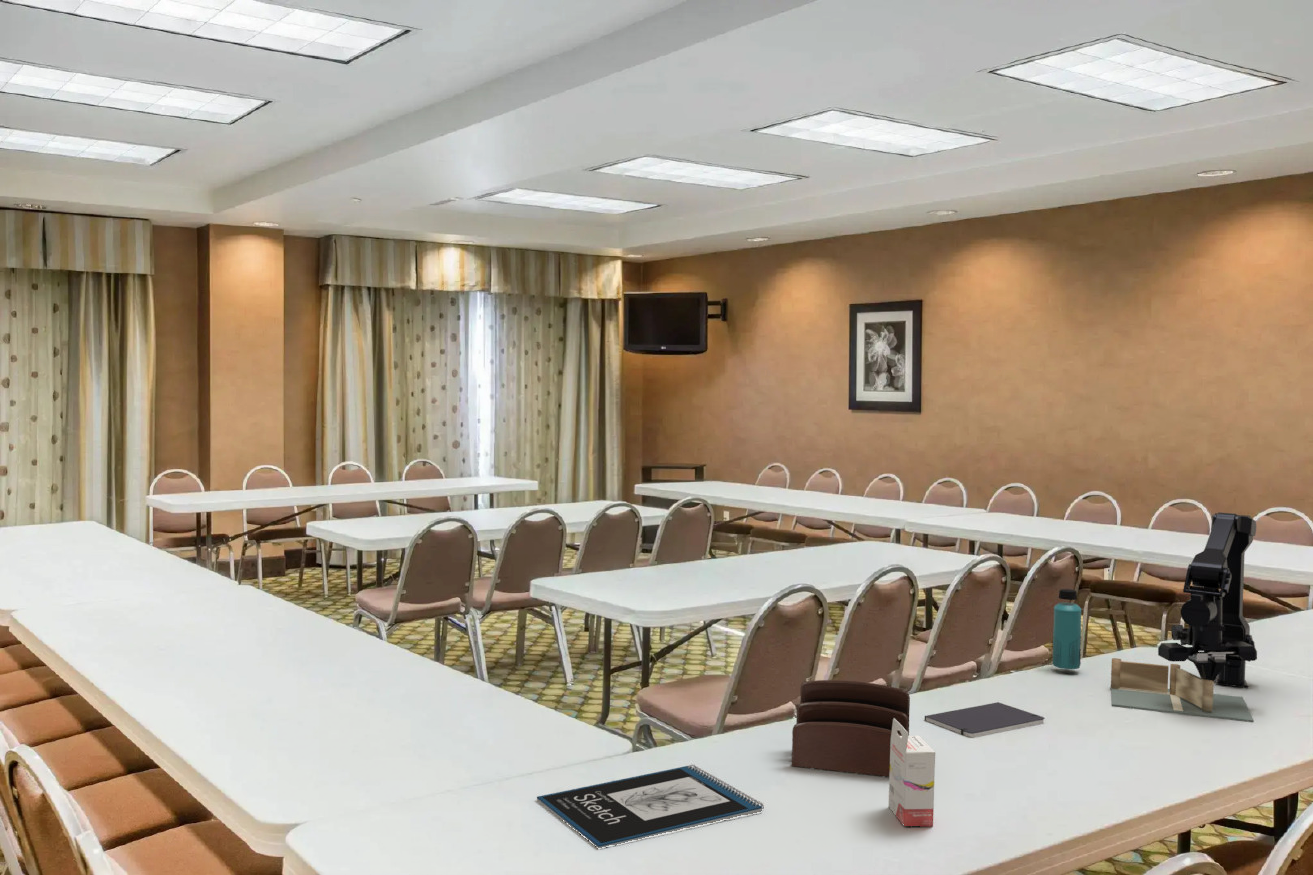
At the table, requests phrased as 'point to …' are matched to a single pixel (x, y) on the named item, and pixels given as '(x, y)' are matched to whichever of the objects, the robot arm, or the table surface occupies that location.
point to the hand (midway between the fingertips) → (1207, 691)
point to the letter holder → (847, 726)
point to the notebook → (985, 719)
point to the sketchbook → (648, 805)
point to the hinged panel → (1195, 689)
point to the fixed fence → (1143, 676)
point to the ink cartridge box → (911, 778)
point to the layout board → (1181, 704)
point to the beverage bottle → (1067, 632)
